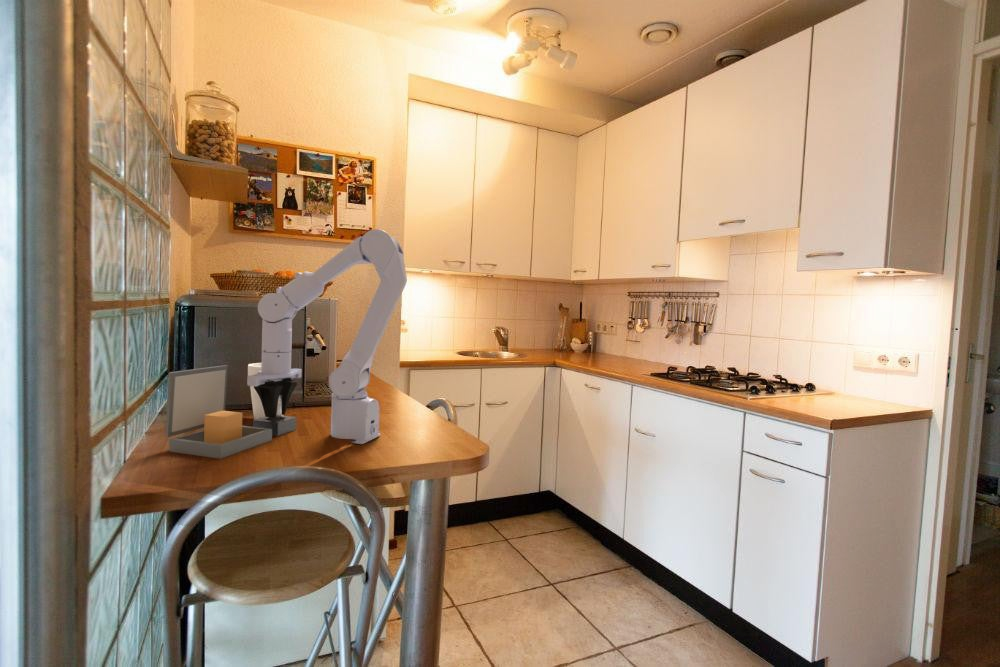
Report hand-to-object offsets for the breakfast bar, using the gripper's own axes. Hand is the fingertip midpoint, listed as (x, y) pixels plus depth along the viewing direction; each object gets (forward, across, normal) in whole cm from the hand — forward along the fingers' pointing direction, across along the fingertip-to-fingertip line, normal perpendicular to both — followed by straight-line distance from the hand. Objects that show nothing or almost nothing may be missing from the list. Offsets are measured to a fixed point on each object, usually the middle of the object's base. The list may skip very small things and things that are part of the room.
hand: (275, 415), depth 106 cm
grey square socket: (+4, 0, 0) cm, 4 cm away
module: (+3, +12, -2) cm, 13 cm away
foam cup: (+4, -12, -11) cm, 17 cm away
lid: (-5, +12, -7) cm, 15 cm away
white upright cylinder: (+2, 0, 0) cm, 3 cm away
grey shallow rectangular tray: (+4, +12, -2) cm, 13 cm away
